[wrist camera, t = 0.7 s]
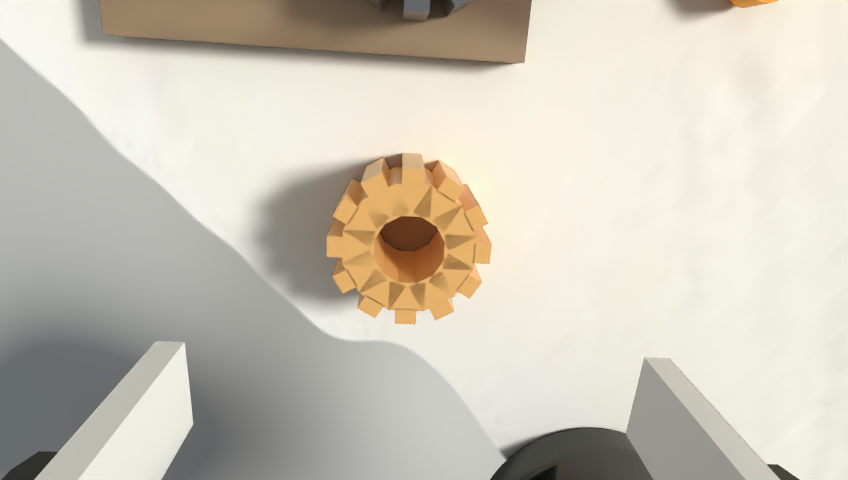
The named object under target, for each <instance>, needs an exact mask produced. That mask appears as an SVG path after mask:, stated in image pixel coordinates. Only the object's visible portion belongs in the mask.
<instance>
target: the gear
mask: <svg viewBox="0 0 848 480" xmlns="http://www.w3.org/2000/svg"><path fill="white" fill-rule="evenodd" d="M365 1H367V2H368V3H369V4H371V5H372V6H374V7H375V8H376V9H378V10H379V11H381V12H382V11H383V10H384V8H385V6H386V4H387V3H388V1H389V0H365ZM400 1H404V12H403V20H407V21H421V22H425V21H426V19H427V17H428V15H429V12H430V3H431V2H436V1H439V0H400ZM472 1H473V0H440V3H441V5H442V7H443V10H444V12H445V14H446V16H447V17H448V16H450V15H452V14H454V13H456V12H457V11H459V10H461V9H463V8H465V7H467V6H468V5H469V4H470V3H471V2H472Z"/></svg>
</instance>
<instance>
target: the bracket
mask: <svg viewBox="0 0 848 480" xmlns="http://www.w3.org/2000/svg"><path fill="white" fill-rule="evenodd" d="M730 1H731V2H732V3H733V4H734V5H735V6H737V7H741V8H745V7H751V6H756V5H761V4H767V3H772V2H775V1H777V0H730Z"/></svg>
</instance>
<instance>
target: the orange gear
mask: <svg viewBox="0 0 848 480" xmlns="http://www.w3.org/2000/svg"><path fill="white" fill-rule="evenodd" d="M401 216H412V217H422V218H423V219H425V220H427V221H428V222H430V223H431V224H433V225H435V226H436V227H437V233H436V234H435V235H434V237H433V238H432V240H431V241H430V243H429V244H428V245H426V246H424V247H422V248H420V249H418V250H416V251H399V250H397V249H395V248H394V247H392V246H390V245H389V244H387V243H385V241H384V239H383V237H382V236H381V234H380V231H381V229H382V228H383V226H384V225H385V224H386V223H389V222H391V221H393V220H395V219H397V218H399V217H401ZM333 217H335V219H334V221H333V224H332V226H331V228H330V230H329V232H328V235H327V257H339V258H338V261H337V264H336V267H335V270H334V273H333V276H332V277H333V279H334V280H335V282H336V284H337V285H338V287H339V289H340V290H341V292H342V294H343V293H345V292H347V291H350V290H352V289H354V288H357V290H358V291H359V293H360V297H359V302H358V309H360V310H362V311H364V312H365V313H367V314H369V315H371V316H373V317H374V318H375V317H376V316H377V315H378V313H379V312H380V310H381V309H382V307H385V308H387V309H388V310H395V324H415V323H416V311H424V310H426V309H428V308H429V309H430V311H431V313H432V314H433V316H434V318H435V320H437V319H439V318H441V317H443V316H445V315H448V314H450V313H452V312H454V309H453V305H452V300H451V298H452V297H454V295H455V294H456V293H457V291H458V292H460V293H461V294H463V295H465V296H466V297H468V298H471V296H472V295H473V294H474V292H475V291H476V290H477V288H478V287H479V286H480V284H481V283H482V282H481V279H480V277H479V274H478V272H477V269H476V266H475V264H474V263H482V264H489V262H490V253H491V242H490V240H489V238H488V236H487V235H486V233H485V231H484V229H483V227H482V226H484V225H486V224H488V222H487V220H486V218H485V216H484V214H483V212H482V210H481V208H480V205H479V204H478V202H477V200H476V199H475V197H474V195H473V194H472V192H471V190H470V189H469V187H468V186H467V184H466V185H464V186H463V184H462V182H461V181H460V179H459V177H458V175H457V174H456V172H455V170H453V169H452V168H450V167H449V166H447V165H446V164H444V163H443V162H441V161H440V160H439V161H438V163H437V164H436V166H435V167H434V169H433V170H432V171H430V170H429V169H427V168H425V167H424V163H423V159H422V155H421V154H410V153H402V167H396V166H395V167H393V168H391V169H390V168H389V166H388V165H387V163H386V161H385V159H384V157H383V158H381V159H379V160H377V161H375V162H373V163H371V164H369V165H367V166H366V169H365V172H364V175H363V177H362V180H361V183H360V182H358V181H357V180H355V179H354V178H353V179H352V181H351V182H350V184H349V185H348V187H347V189H346V190H345V192H344V193H343V195H342V197H341V200H340V202H339V204H338V206H337V208H336V210H335V212H334V214H333Z"/></svg>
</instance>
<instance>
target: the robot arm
mask: <svg viewBox="0 0 848 480" xmlns="http://www.w3.org/2000/svg"><path fill="white" fill-rule="evenodd" d="M190 399H191V398H190V389H189V379H188V370H187V360H186V351H185V342H167V341H156V342H155V343H154V344H153V345H152V346H151V347H150V349H149V350H148V351H147V352H146V353H145V354H144V355H143V357H142V358H141V359H140V360H139V361H138V362H137V363H136V365H135V366H134V367H133V368H132V369H131V370H130V372H129V373H128V374H127V375H126V376H125V377H124V378H123V380H121V382H120V383H119V384H118V385H117V386H116V387H115V388H114V390H113V391H112V392H111V393H110V394H109V395H108V396H107V397H106V399H105V400H104V401H103V402H102V403H101V404H100V405H99V407H98V408H97V409H96V410H95V411H94V413H92V415H91V416H90V417H89V418H88V419H87V420H86V421H85V423H84V424H83V425H82V426H81V427H80V428H79V429H78V431H77V432H76V433H75V434H74V435H73V436H72V437H71V438H70V440H69V441H68V442H67V443H66V444H65V445H64V447H63V448H62V449H61V450H60V451H59V452H37V453H36V454H34V455H33V456H31V457H30V458H28V459H27V460H25V461H24V462H22V463H20V464H19V465H17V466H16V467H14V468H13V469H11V470H10V471H9V472H8V474H7V475H6V476H5V477H4V478H3V479H2V480H161V479H162V477H163V476H164V474H165V472H166V470H167V469H168V467H169V465H170V463H171V462H172V460H173V458H174V456H175V455H176V453H177V451H178V449H179V448H180V446H181V444H182V442H183V441H184V439H185V437H186V436H187V434H188V432H189V430H190V429H191V427H192V425H193V417H192V408H191V400H190ZM490 480H799V479H798V478H796V477H795V476H793V475H792V474H790V473H789V472H788V471H786V470H785V469H783V468H782V467H780V466H779V465H773V464H766V463H765V462H764V461H763V460H762V459H761V458H760V457H759V456H758V455H757V454H756V452H755V451H754V450H753V449H752V448H751V447H750V446H749V445H748V444H747V443H746V441H745V440H744V439H743V438H742V437H741V436H740V435H739V434H738V433H737V432H736V431H735V429H734V428H733V427H732V426H731V425H730V424H729V423H728V422H727V421H726V420H725V418H724V417H723V416H722V415H721V414H720V413H719V412H718V411H717V410H716V409H715V408H714V406H713V405H712V404H711V403H710V402H709V401H708V400H707V399H706V398H705V397H704V395H703V394H702V393H701V392H700V391H699V390H698V389H697V388H696V387H695V386H694V384H693V383H692V382H691V381H690V380H689V379H688V378H687V377H686V376H685V375H684V374H683V372H682V371H681V370H680V369H679V368H678V367H677V366H676V365H675V364H674V363H673V361H672V360H671V359H670V358H647V357H644V361H643V365H642V369H641V373H640V377H639V382H638V386H637V390H636V394H635V398H634V402H633V406H632V410H631V415H630V419H629V423H628V427H627V431H626V433H622V432H618V431H614V430H608V429H596V428H586V429H575V430H569V431H564V432H560V433H556V434H553V435H550V436H547V437H544V438H542V439H539V440H537V441H535V442H533V443H531V444H529V445H527V446H526V447H524V448H522V449H521V450H519V451H518V452H517V453H515V454H514V455H513V456H511V457H510V458H509V459H508V460H507V461H506V462H505V463H504V464H502V466H501V467H500V468H499V469H498V470H497V471H496V473H495V474H494V475H493V476H492V478H491V479H490Z"/></svg>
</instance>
